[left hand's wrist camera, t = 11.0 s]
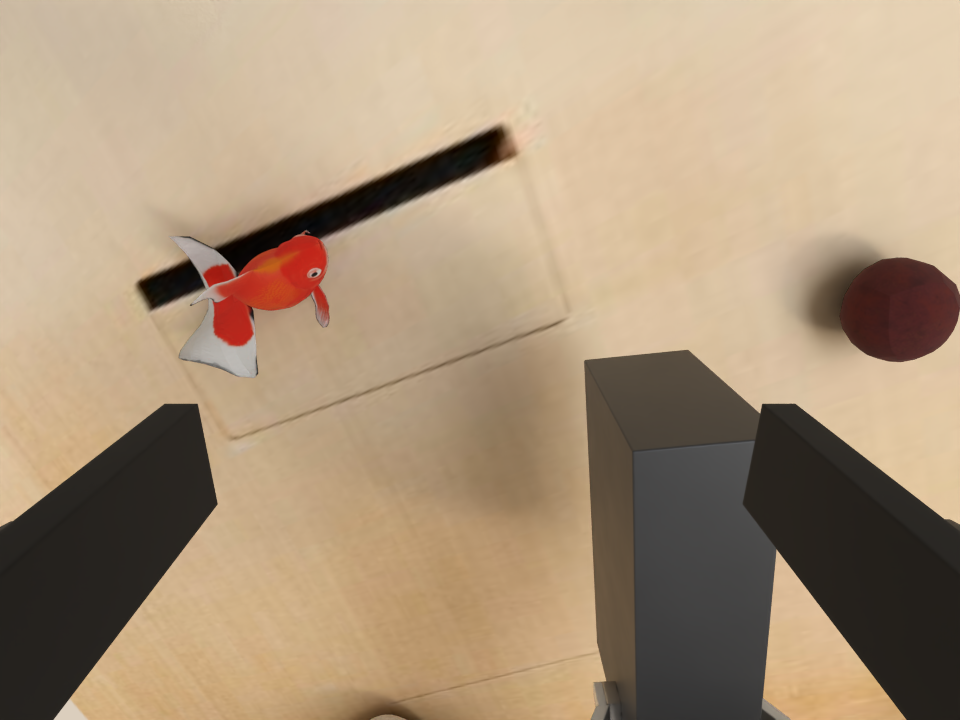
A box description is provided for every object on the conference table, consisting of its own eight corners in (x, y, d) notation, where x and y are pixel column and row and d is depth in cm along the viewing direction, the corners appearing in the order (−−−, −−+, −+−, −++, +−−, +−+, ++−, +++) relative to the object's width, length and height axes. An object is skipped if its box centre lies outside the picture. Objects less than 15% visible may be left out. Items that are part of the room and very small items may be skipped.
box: (583, 359, 33) (632, 451, 23) (688, 349, 33) (787, 437, 22) (596, 642, 41) (637, 811, 30) (681, 635, 41) (753, 804, 30)
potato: (825, 354, 46) (884, 387, 39) (814, 267, 43) (875, 286, 36) (916, 327, 45) (992, 356, 38) (910, 237, 42) (991, 251, 36)
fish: (385, 359, 41) (277, 375, 32) (249, 378, 48) (133, 394, 40) (364, 217, 40) (250, 193, 32) (231, 258, 48) (110, 249, 40)
